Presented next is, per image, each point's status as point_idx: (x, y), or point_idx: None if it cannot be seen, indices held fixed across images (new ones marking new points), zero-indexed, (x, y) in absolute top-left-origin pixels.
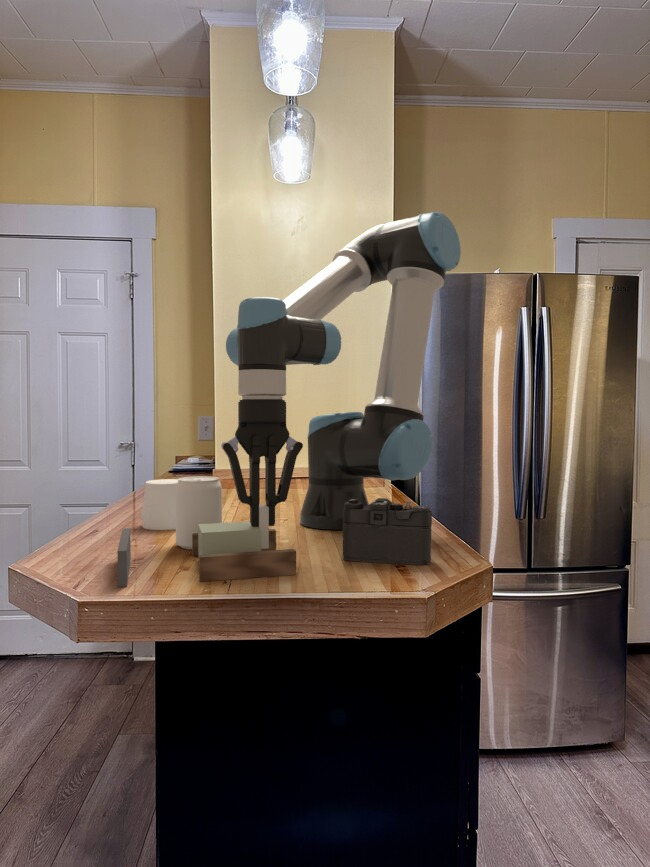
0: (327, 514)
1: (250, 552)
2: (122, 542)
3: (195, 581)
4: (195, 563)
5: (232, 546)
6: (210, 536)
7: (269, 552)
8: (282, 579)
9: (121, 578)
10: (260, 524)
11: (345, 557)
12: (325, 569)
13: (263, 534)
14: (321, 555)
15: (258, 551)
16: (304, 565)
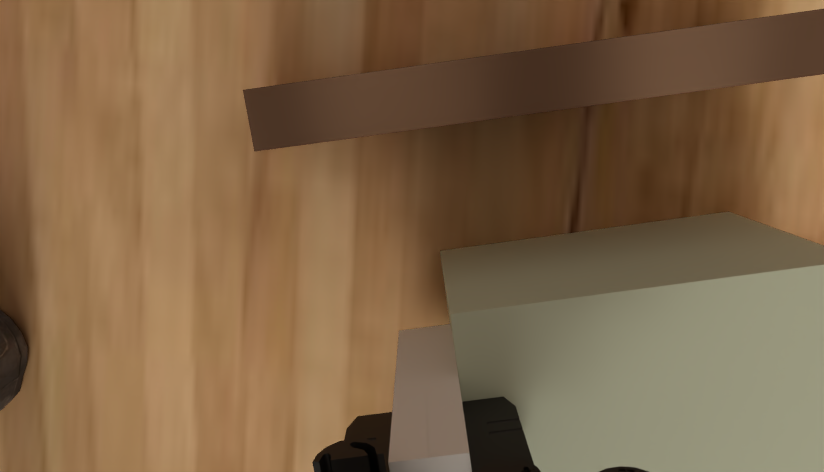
0: None
1: (519, 94)
2: None
3: None
4: None
5: (617, 259)
6: (786, 258)
7: (405, 78)
8: (347, 17)
9: None
10: (452, 386)
11: (8, 326)
12: (126, 172)
13: (430, 359)
14: (134, 433)
15: (470, 113)
16: (227, 260)
